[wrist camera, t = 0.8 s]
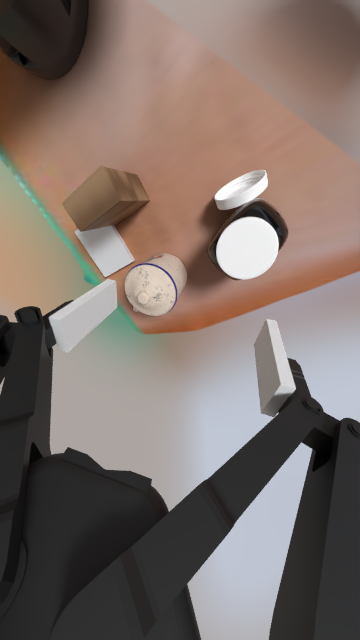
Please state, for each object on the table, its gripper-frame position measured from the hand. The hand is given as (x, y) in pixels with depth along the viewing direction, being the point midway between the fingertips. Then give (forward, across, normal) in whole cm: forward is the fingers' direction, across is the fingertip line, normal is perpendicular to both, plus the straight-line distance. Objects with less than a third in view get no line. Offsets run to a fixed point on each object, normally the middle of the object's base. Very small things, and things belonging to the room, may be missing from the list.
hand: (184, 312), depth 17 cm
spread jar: (+22, +3, +5) cm, 23 cm away
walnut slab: (+22, -17, +5) cm, 28 cm away
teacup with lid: (+22, -9, -7) cm, 25 cm away
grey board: (+22, -21, -3) cm, 30 cm away
